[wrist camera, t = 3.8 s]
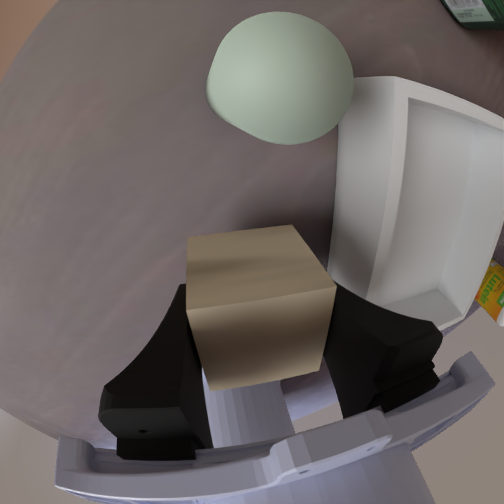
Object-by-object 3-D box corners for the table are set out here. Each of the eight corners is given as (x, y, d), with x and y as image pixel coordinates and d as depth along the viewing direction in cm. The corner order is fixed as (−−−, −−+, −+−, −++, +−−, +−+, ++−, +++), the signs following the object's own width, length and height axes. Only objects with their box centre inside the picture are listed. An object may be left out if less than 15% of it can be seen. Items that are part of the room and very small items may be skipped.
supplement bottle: (478, 254, 23) (533, 304, 15) (494, 255, 24) (543, 299, 16) (459, 293, 25) (506, 345, 17) (477, 290, 27) (520, 335, 18)
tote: (435, 288, 23) (463, 319, 19) (319, 320, 21) (343, 367, 17) (473, 113, 14) (520, 127, 10) (338, 78, 12) (394, 76, 8)
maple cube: (288, 302, 16) (318, 370, 12) (202, 316, 15) (210, 391, 11) (291, 224, 13) (336, 286, 9) (187, 237, 12) (185, 310, 8)
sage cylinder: (284, 124, 13) (353, 144, 7) (208, 128, 13) (217, 149, 7) (282, 54, 11) (350, 22, 5) (203, 55, 11) (210, 11, 5)
